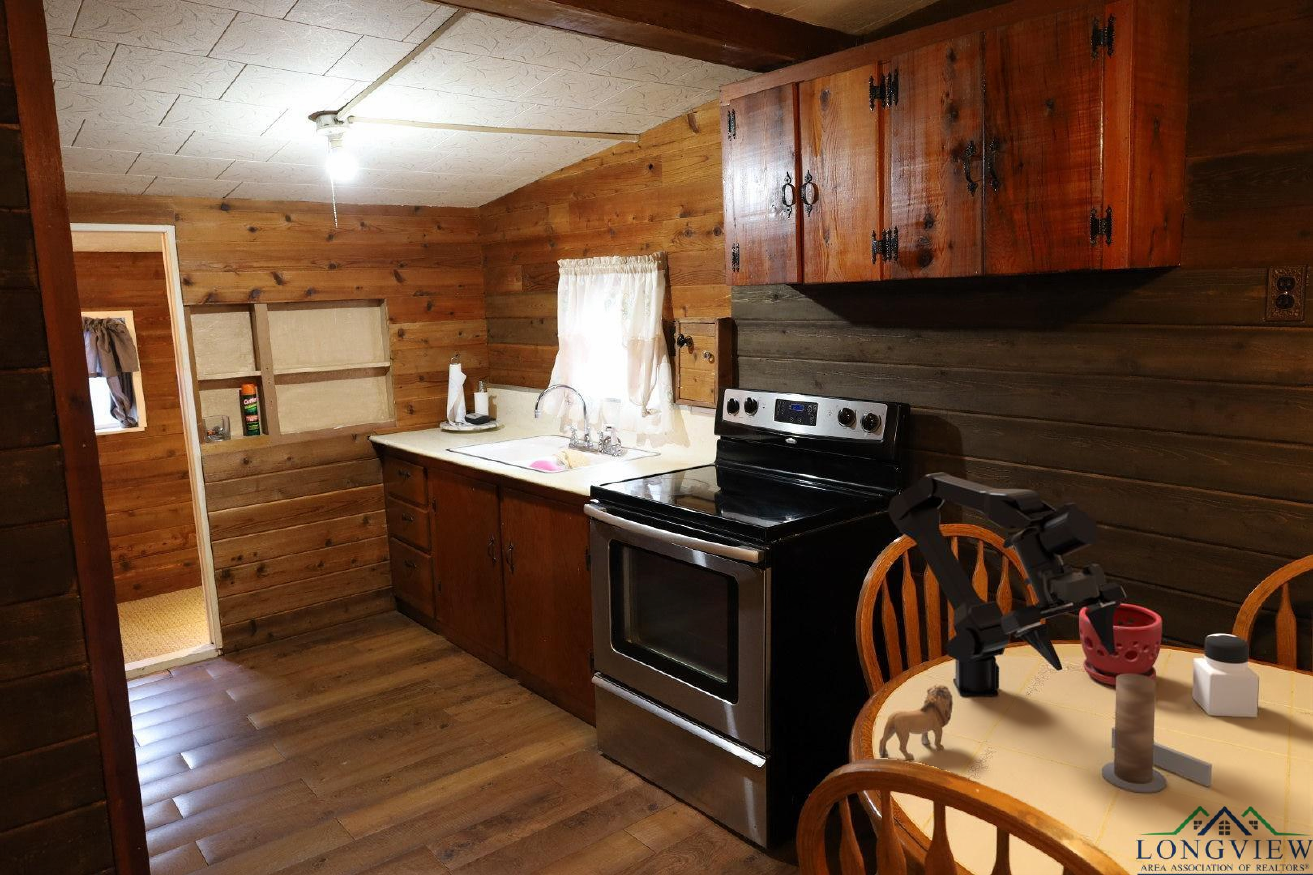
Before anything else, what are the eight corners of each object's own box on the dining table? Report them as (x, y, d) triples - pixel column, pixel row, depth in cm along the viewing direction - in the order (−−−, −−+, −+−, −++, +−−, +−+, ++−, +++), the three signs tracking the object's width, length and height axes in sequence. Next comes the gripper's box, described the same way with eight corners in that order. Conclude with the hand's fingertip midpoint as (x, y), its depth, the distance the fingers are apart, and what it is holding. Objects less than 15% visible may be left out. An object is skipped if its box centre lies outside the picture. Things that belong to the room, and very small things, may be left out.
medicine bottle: (1258, 718, 141) (1261, 646, 139) (1208, 716, 142) (1211, 644, 141) (1238, 699, 148) (1241, 630, 146) (1191, 697, 149) (1194, 629, 148)
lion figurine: (934, 730, 141) (934, 676, 140) (961, 743, 137) (962, 687, 136) (868, 757, 134) (867, 700, 133) (894, 771, 129) (894, 712, 128)
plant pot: (1068, 663, 166) (1069, 601, 164) (1142, 664, 164) (1144, 601, 162) (1092, 692, 153) (1093, 625, 151) (1173, 693, 151) (1175, 626, 150)
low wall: (1111, 746, 134) (1112, 728, 133) (1114, 745, 134) (1115, 726, 134) (1207, 786, 122) (1208, 765, 121) (1211, 784, 122) (1211, 764, 122)
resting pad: (1114, 791, 121) (1114, 789, 121) (1093, 763, 129) (1093, 760, 129) (1176, 793, 120) (1176, 791, 120) (1151, 764, 128) (1151, 762, 128)
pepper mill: (1113, 779, 124) (1115, 683, 122) (1114, 763, 128) (1116, 671, 126) (1152, 786, 121) (1155, 689, 120) (1152, 770, 125) (1155, 676, 124)
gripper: (1013, 566, 131) (1059, 670, 126) (1122, 536, 135) (1171, 636, 129) (982, 584, 142) (1023, 681, 136) (1084, 556, 145) (1127, 649, 139)
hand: (1086, 662), depth 135 cm, fingers open, 9 cm apart
